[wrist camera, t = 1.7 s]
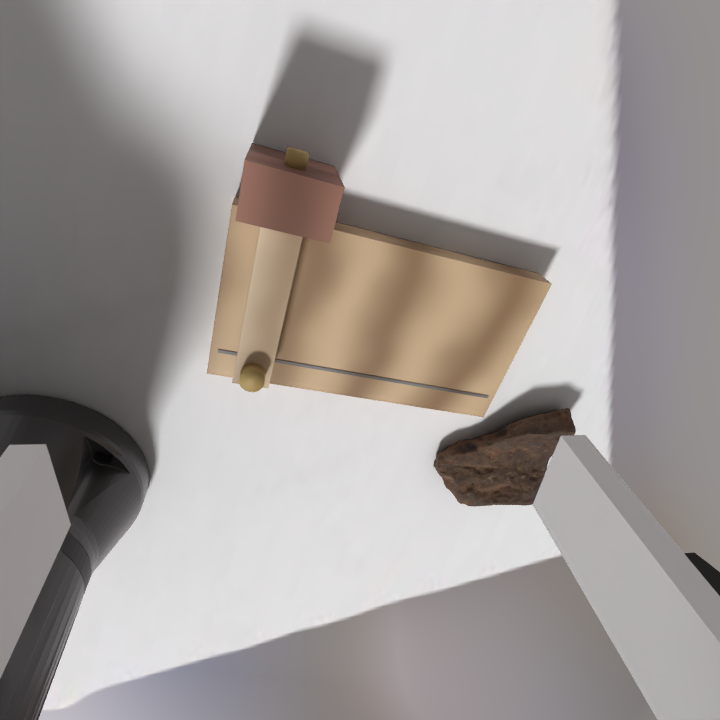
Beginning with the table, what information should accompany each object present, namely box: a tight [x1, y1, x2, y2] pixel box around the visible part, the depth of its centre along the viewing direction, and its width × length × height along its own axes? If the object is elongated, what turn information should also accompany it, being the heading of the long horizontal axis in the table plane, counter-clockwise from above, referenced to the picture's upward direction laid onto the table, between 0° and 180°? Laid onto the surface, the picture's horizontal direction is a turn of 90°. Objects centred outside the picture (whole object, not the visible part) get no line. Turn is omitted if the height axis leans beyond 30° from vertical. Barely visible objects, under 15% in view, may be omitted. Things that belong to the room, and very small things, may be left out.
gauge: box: [232, 143, 345, 392], centre depth 29 cm, size 5×15×6 cm, turn 164°
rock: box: [434, 408, 575, 506], centre depth 42 cm, size 11×10×4 cm
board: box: [207, 197, 551, 417], centre depth 34 cm, size 22×12×2 cm, turn 74°
